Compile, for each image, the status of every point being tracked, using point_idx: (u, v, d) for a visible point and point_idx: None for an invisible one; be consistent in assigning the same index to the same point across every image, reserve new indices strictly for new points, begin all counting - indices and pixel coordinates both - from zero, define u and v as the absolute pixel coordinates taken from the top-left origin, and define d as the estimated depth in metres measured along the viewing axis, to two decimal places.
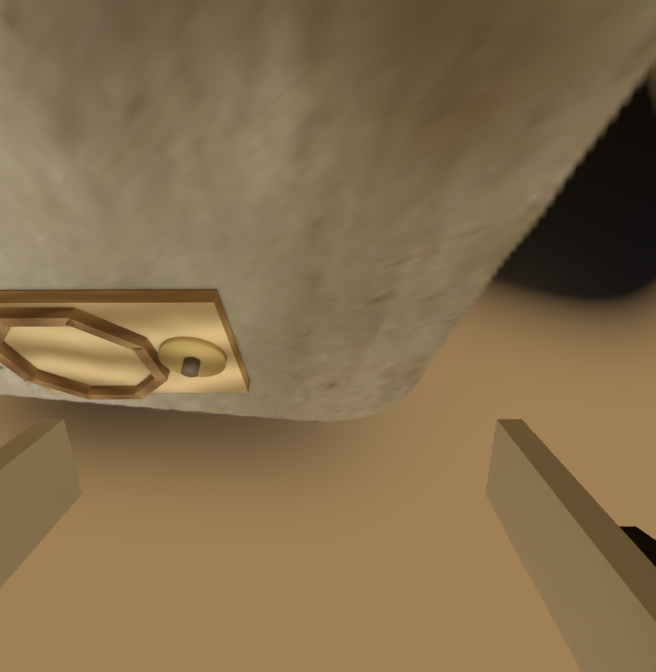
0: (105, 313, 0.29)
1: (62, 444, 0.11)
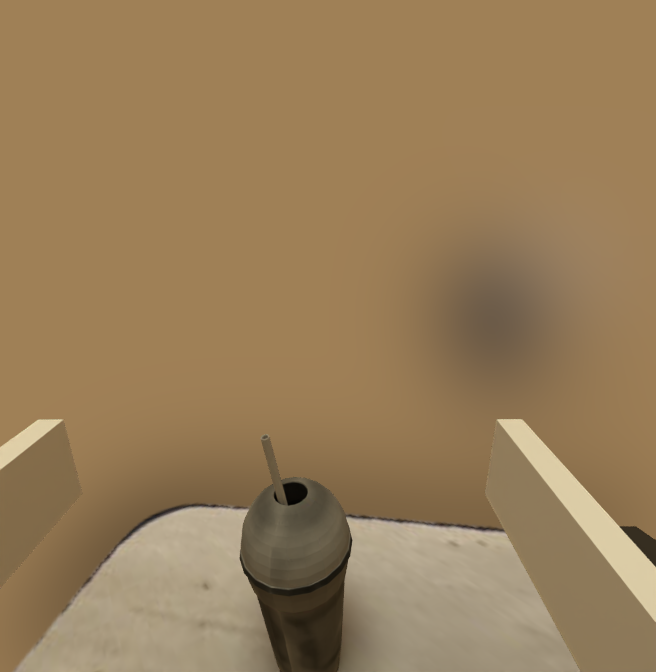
0: None
1: (62, 444, 0.11)
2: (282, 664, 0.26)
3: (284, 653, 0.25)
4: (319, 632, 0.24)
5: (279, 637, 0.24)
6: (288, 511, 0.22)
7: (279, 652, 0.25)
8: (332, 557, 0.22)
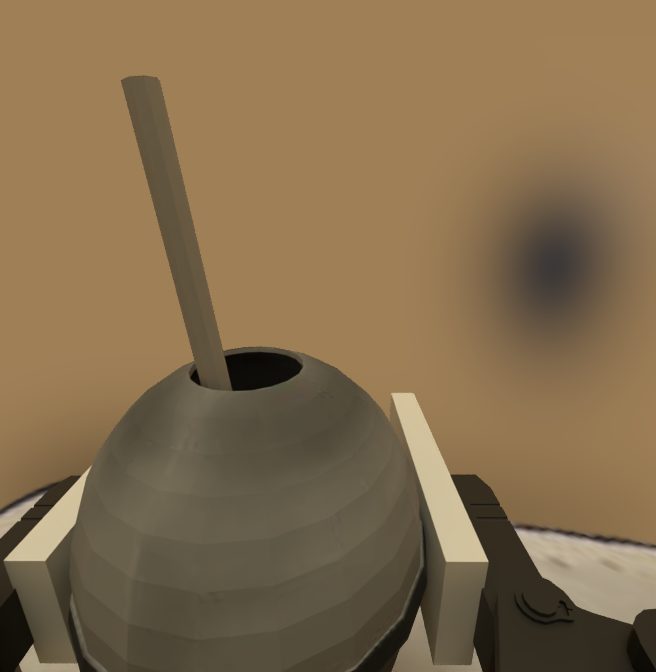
0: None
1: None
2: None
3: None
4: None
5: None
6: (227, 408, 0.06)
7: None
8: (381, 590, 0.06)
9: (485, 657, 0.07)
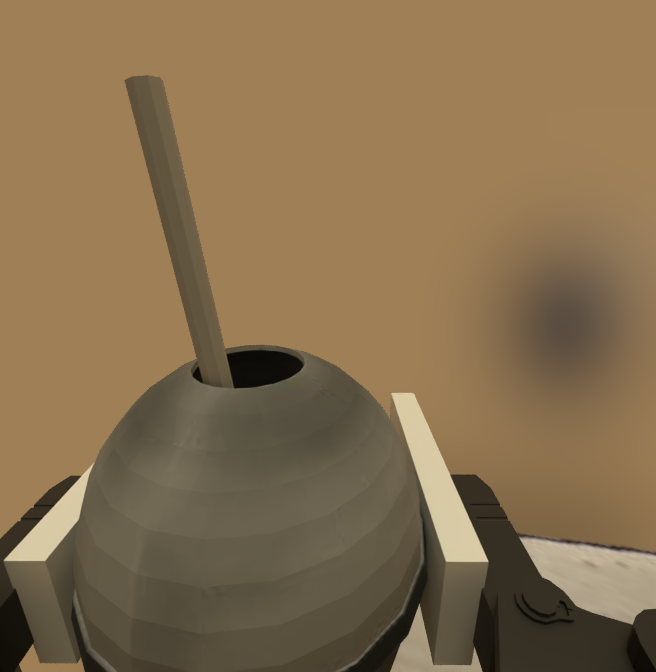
0: None
1: None
2: None
3: None
4: None
5: None
6: (229, 405, 0.06)
7: None
8: (381, 586, 0.06)
9: (485, 657, 0.07)
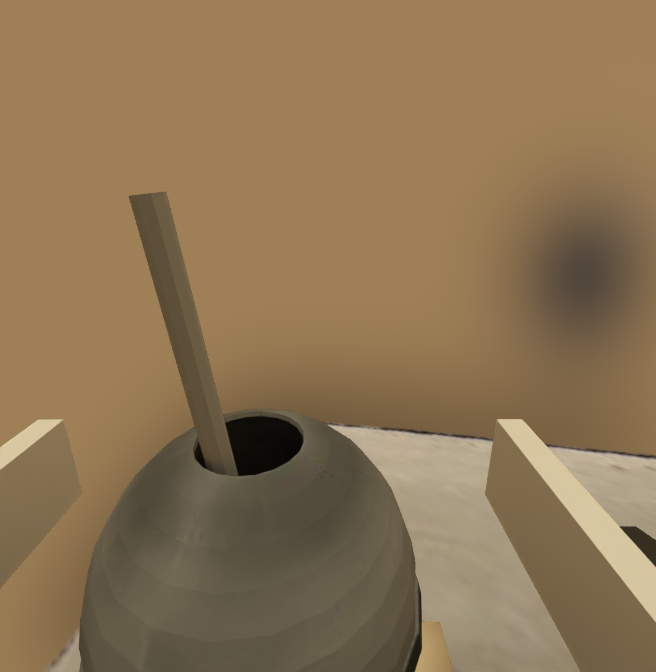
0: None
1: (62, 444, 0.11)
2: None
3: None
4: None
5: None
6: (231, 496, 0.06)
7: None
8: None
9: None
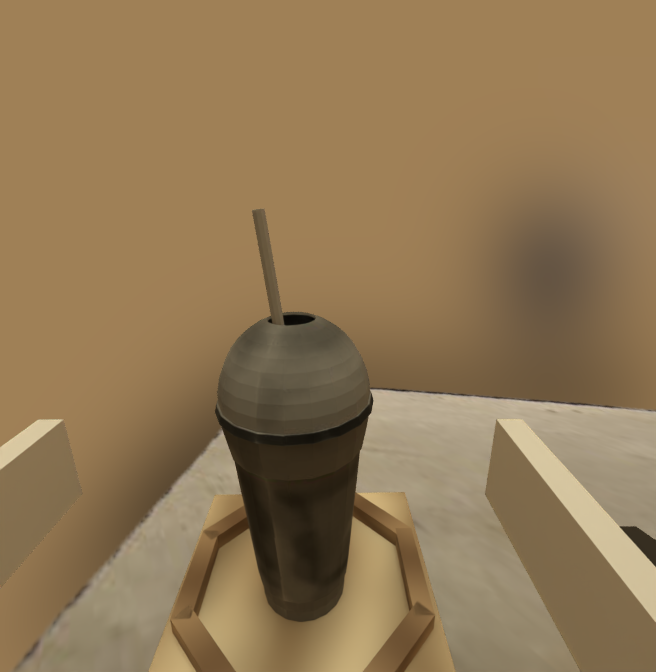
0: None
1: (62, 444, 0.11)
2: (268, 575, 0.19)
3: (271, 555, 0.18)
4: (322, 522, 0.17)
5: (266, 528, 0.17)
6: (287, 331, 0.15)
7: (265, 555, 0.18)
8: (348, 399, 0.15)
9: None
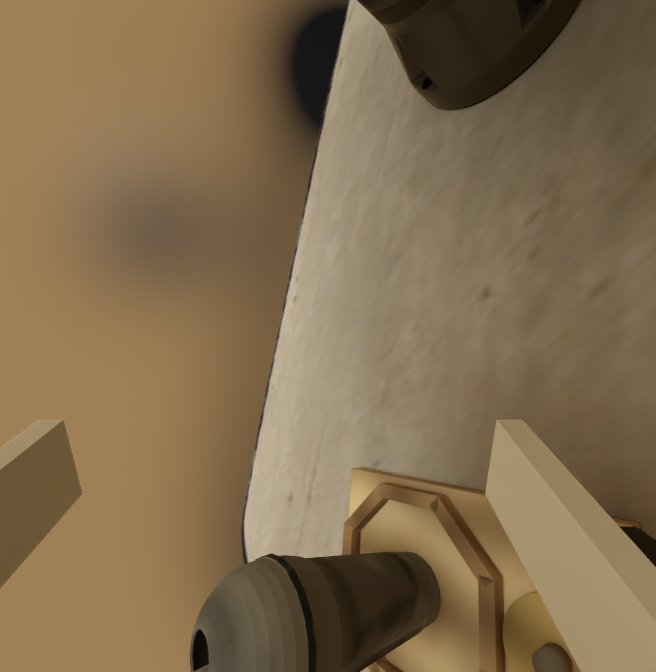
0: (472, 513, 0.25)
1: (62, 444, 0.11)
2: (408, 639, 0.23)
3: (395, 643, 0.22)
4: (374, 606, 0.21)
5: (375, 656, 0.21)
6: None
7: (394, 648, 0.22)
8: (283, 607, 0.18)
9: None
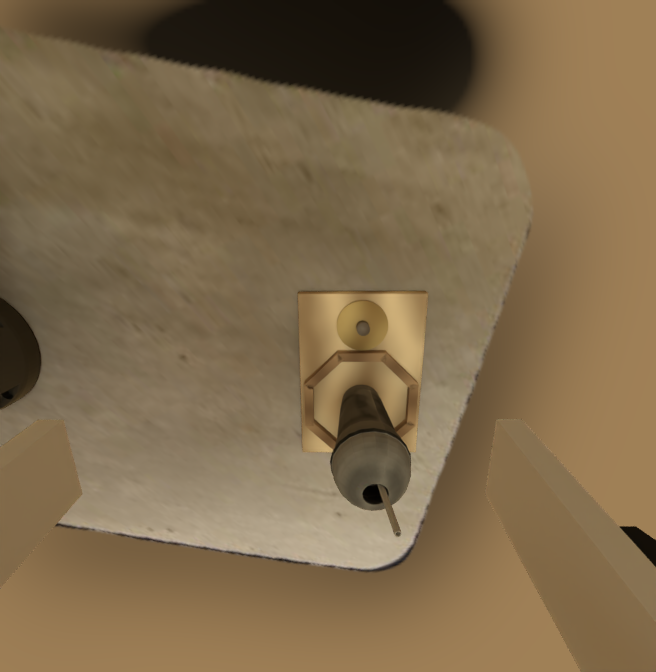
0: (311, 365, 0.44)
1: (62, 444, 0.11)
2: (377, 398, 0.42)
3: (376, 402, 0.40)
4: (354, 411, 0.38)
5: (380, 410, 0.39)
6: (376, 479, 0.30)
7: (379, 403, 0.41)
8: (345, 448, 0.33)
9: None
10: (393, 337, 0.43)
